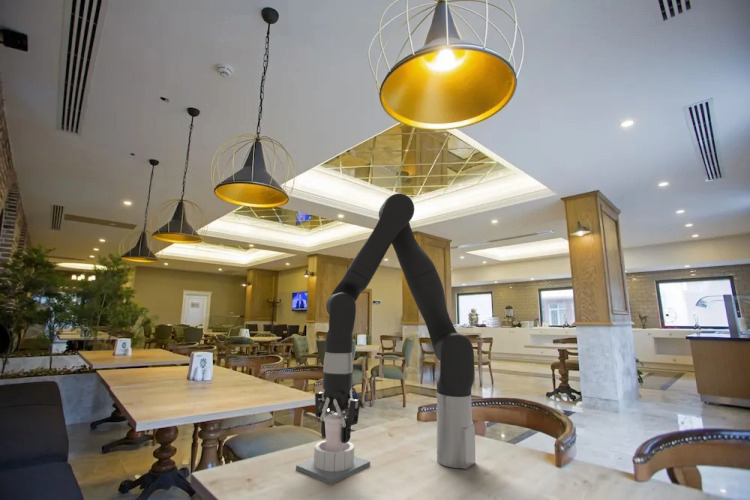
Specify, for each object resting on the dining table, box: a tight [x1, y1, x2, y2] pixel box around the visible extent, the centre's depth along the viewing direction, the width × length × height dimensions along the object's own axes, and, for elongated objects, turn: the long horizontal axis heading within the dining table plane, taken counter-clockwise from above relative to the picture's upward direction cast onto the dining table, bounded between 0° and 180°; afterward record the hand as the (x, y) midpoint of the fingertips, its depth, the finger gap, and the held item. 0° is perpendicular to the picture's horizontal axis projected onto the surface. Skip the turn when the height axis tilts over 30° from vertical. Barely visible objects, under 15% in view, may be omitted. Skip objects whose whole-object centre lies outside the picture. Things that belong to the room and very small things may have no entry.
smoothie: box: [323, 412, 347, 452], centre depth 94 cm, size 6×6×14 cm
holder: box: [295, 439, 371, 485], centre depth 92 cm, size 12×14×5 cm
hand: (335, 438), depth 93 cm, fingers closed on smoothie, 6 cm apart
